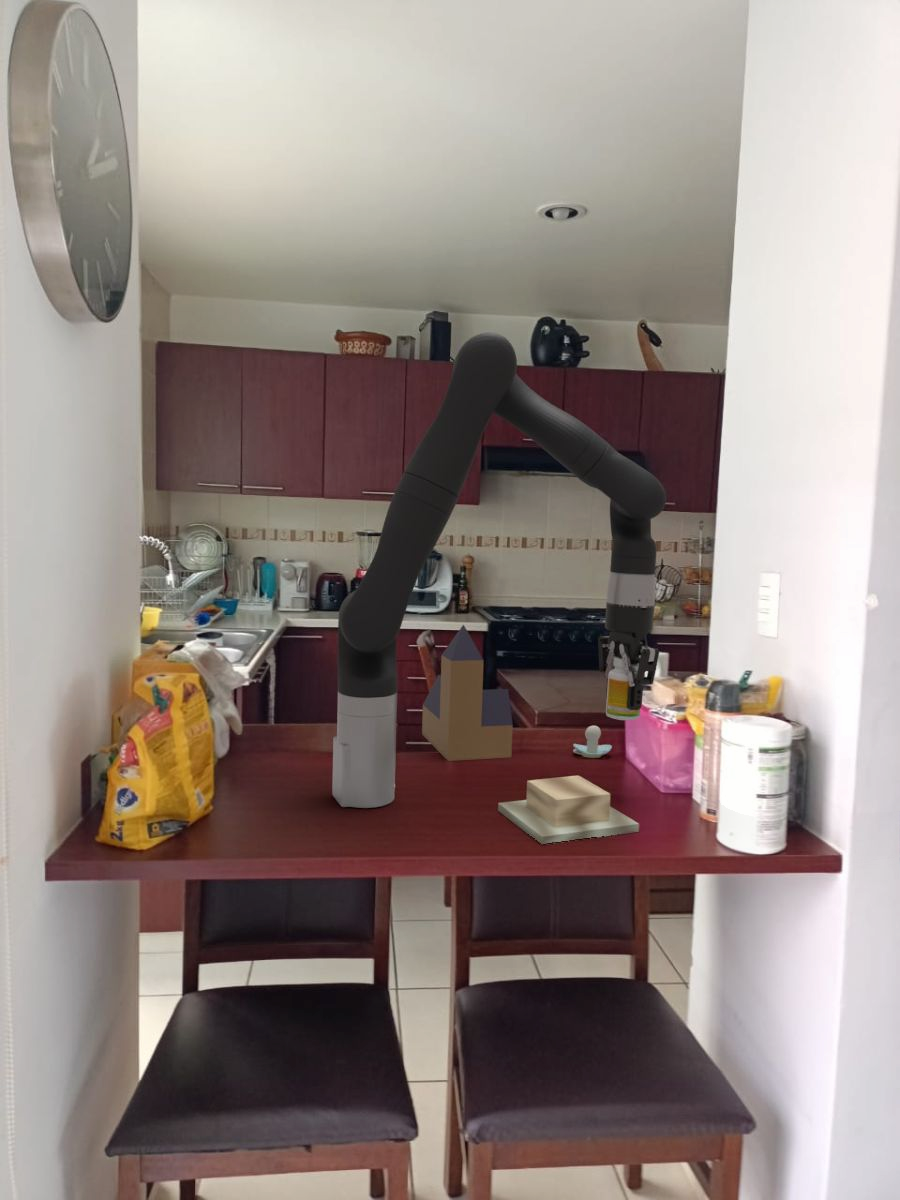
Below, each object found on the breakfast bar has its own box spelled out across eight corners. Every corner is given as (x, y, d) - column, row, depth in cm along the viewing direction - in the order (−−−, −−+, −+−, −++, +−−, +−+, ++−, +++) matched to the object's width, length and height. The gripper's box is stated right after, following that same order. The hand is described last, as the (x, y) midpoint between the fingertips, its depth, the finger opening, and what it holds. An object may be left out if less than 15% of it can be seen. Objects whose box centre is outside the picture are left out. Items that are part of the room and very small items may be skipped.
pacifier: (568, 751, 162) (575, 759, 156) (570, 720, 161) (576, 726, 155) (605, 752, 162) (613, 760, 156) (607, 720, 162) (614, 727, 156)
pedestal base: (541, 845, 114) (543, 808, 114) (498, 810, 127) (499, 777, 126) (638, 831, 120) (640, 797, 120) (587, 800, 133) (589, 768, 133)
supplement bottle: (642, 721, 131) (646, 661, 130) (608, 720, 131) (612, 659, 130) (635, 713, 137) (639, 655, 136) (603, 712, 137) (607, 654, 136)
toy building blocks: (447, 761, 152) (452, 626, 149) (422, 734, 170) (425, 614, 167) (511, 757, 156) (516, 626, 153) (479, 731, 173) (483, 613, 171)
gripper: (586, 596, 137) (580, 696, 139) (637, 606, 124) (629, 716, 126) (624, 596, 140) (617, 694, 142) (677, 606, 127) (669, 714, 129)
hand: (623, 704), depth 134 cm, fingers closed on supplement bottle, 5 cm apart
